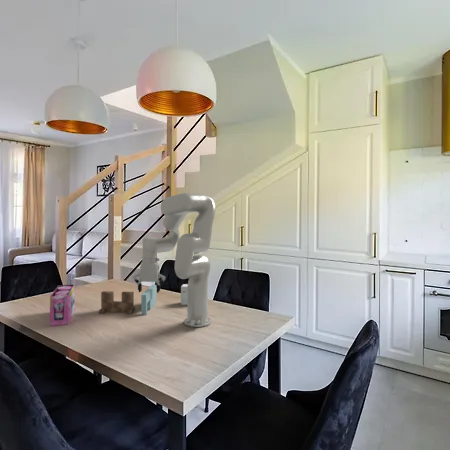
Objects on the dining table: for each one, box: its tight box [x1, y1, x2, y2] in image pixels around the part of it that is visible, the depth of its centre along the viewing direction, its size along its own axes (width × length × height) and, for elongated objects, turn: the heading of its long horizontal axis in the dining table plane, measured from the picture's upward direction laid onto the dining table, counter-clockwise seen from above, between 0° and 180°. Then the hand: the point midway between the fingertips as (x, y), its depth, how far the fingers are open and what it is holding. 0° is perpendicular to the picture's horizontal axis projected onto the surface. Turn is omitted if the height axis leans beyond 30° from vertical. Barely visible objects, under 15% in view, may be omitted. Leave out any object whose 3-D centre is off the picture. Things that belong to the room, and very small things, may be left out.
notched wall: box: [98, 290, 136, 315], centre depth 167 cm, size 16×8×10 cm, turn 89°
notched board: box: [140, 284, 157, 316], centre depth 173 cm, size 22×2×10 cm, turn 179°
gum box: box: [49, 284, 76, 327], centre depth 156 cm, size 24×8×14 cm, turn 18°
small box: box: [180, 283, 188, 306], centre depth 181 cm, size 8×6×10 cm
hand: (149, 291), depth 174 cm, fingers open, 9 cm apart
